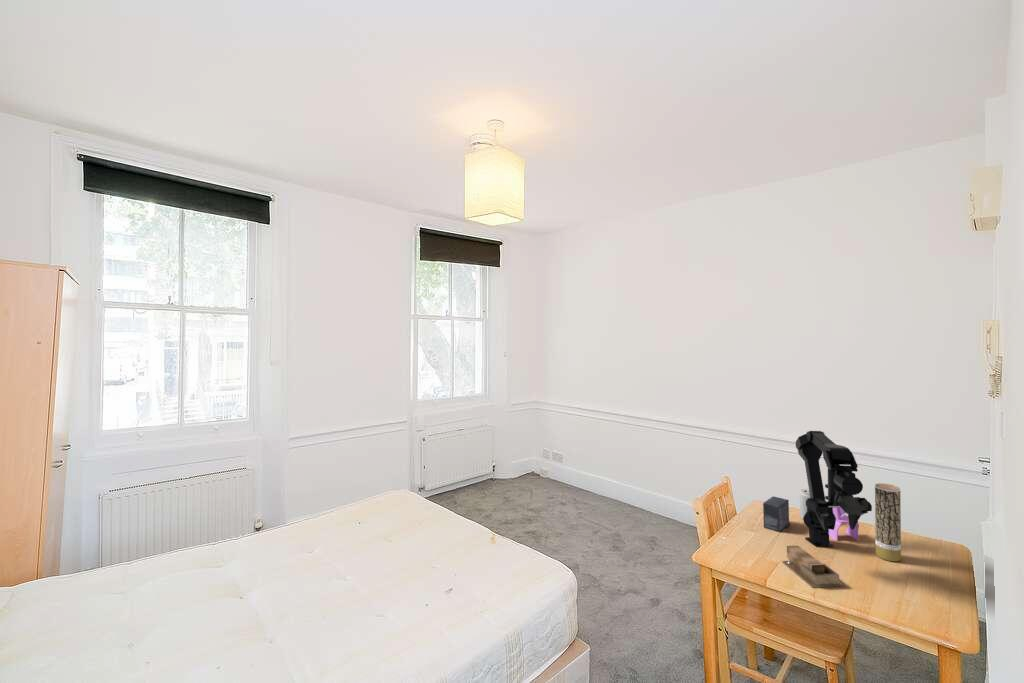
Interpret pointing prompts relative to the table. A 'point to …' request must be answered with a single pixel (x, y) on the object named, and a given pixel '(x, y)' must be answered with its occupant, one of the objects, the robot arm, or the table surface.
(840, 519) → the toy chair
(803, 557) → the walnut rail
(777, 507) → the small box
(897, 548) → the log-patterned cylinder
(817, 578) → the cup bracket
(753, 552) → the table surface
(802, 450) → the robot arm
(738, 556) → the table surface
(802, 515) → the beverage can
